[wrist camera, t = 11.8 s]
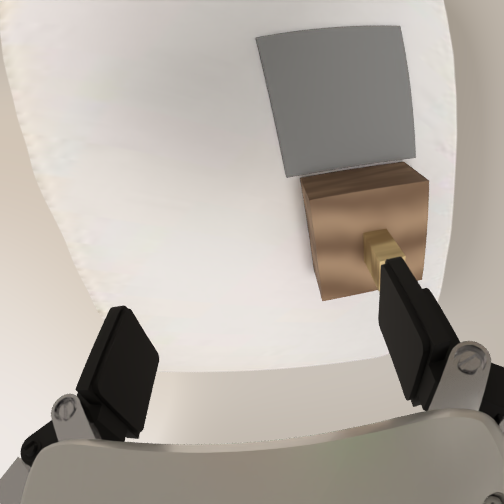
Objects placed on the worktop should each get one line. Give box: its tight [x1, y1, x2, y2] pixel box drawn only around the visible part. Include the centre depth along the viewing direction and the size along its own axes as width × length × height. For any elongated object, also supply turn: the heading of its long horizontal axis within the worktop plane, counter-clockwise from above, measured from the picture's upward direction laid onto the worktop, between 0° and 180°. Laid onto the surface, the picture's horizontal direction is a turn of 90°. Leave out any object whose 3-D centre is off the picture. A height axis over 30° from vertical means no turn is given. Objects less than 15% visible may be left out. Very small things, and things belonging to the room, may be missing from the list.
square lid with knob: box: [300, 162, 429, 301], centre depth 37 cm, size 15×15×13 cm
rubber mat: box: [256, 26, 416, 178], centre depth 34 cm, size 18×18×1 cm
